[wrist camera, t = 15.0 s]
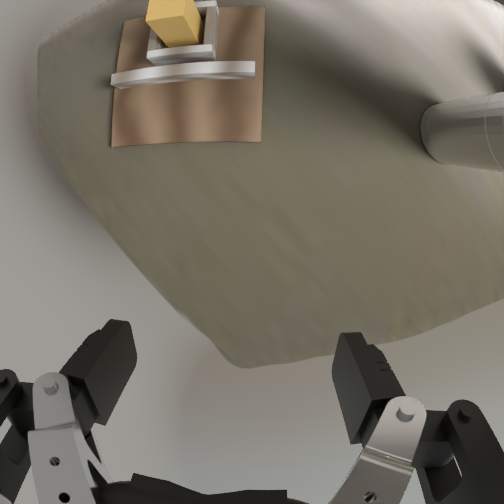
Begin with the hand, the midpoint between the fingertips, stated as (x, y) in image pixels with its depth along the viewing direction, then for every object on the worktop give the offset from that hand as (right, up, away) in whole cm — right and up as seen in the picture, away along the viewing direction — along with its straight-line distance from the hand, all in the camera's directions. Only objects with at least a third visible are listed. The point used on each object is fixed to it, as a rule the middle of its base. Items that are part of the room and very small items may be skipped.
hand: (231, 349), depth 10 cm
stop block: (-8, +32, +18) cm, 37 cm away
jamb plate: (-8, +27, +21) cm, 35 cm away
